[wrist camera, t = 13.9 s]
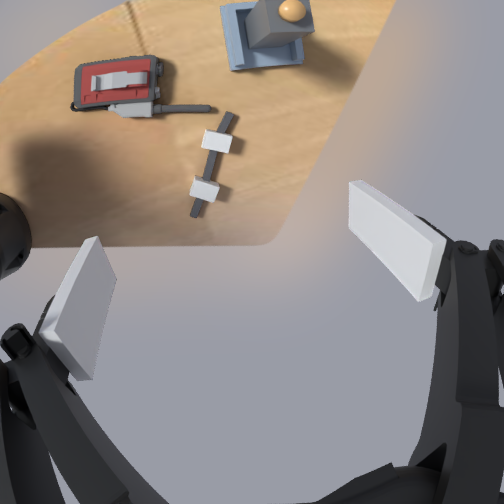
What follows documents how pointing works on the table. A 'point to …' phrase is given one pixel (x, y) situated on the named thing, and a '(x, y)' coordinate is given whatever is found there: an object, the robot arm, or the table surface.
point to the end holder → (238, 43)
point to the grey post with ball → (278, 23)
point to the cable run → (210, 164)
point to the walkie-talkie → (124, 87)
